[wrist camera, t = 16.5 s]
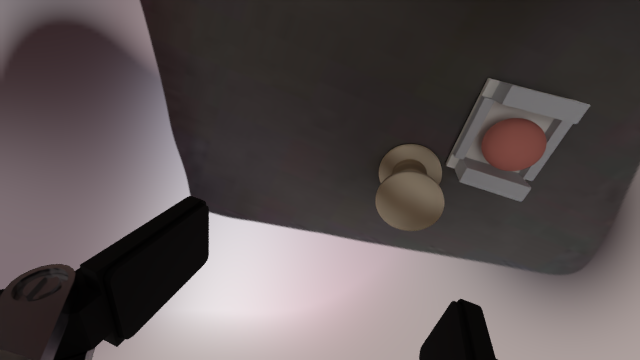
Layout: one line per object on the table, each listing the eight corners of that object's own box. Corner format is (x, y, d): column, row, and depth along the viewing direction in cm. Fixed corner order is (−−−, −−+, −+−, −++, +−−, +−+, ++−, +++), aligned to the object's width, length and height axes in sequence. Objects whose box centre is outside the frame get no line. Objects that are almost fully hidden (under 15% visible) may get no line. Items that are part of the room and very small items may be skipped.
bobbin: (390, 135, 35) (384, 158, 27) (452, 154, 34) (464, 184, 26) (371, 187, 39) (362, 219, 31) (426, 205, 37) (430, 244, 30)
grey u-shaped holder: (487, 78, 29) (501, 82, 25) (573, 99, 28) (603, 108, 23) (445, 163, 34) (450, 179, 30) (515, 185, 33) (531, 205, 28)
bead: (492, 107, 29) (506, 117, 25) (545, 121, 28) (571, 135, 24) (468, 151, 32) (477, 169, 27) (516, 166, 31) (534, 187, 26)
